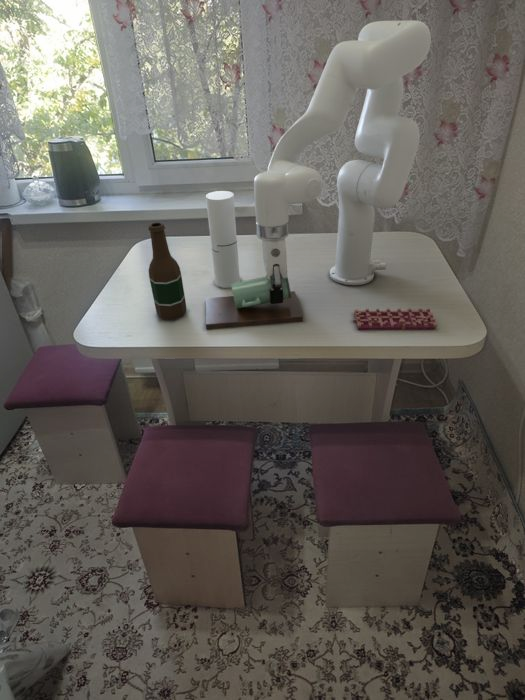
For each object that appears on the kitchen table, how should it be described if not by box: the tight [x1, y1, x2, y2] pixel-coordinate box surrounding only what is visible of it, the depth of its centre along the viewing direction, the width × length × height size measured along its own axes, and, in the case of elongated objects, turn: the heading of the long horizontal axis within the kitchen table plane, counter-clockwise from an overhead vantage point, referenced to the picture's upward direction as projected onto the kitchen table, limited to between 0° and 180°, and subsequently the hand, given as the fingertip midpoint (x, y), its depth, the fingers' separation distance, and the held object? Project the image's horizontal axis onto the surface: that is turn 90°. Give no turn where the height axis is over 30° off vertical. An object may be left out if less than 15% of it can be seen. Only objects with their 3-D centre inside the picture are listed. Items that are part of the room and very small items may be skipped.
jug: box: [231, 275, 291, 309], centre depth 114 cm, size 7×9×14 cm
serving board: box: [205, 290, 304, 330], centre depth 117 cm, size 24×13×2 cm, turn 95°
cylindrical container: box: [205, 190, 241, 289], centre depth 124 cm, size 7×7×25 cm
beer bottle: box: [147, 222, 187, 321], centre depth 111 cm, size 8×8×24 cm
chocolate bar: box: [352, 307, 437, 331], centre depth 111 cm, size 7×19×2 cm, turn 88°
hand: (274, 295), depth 116 cm, fingers closed on jug, 6 cm apart
